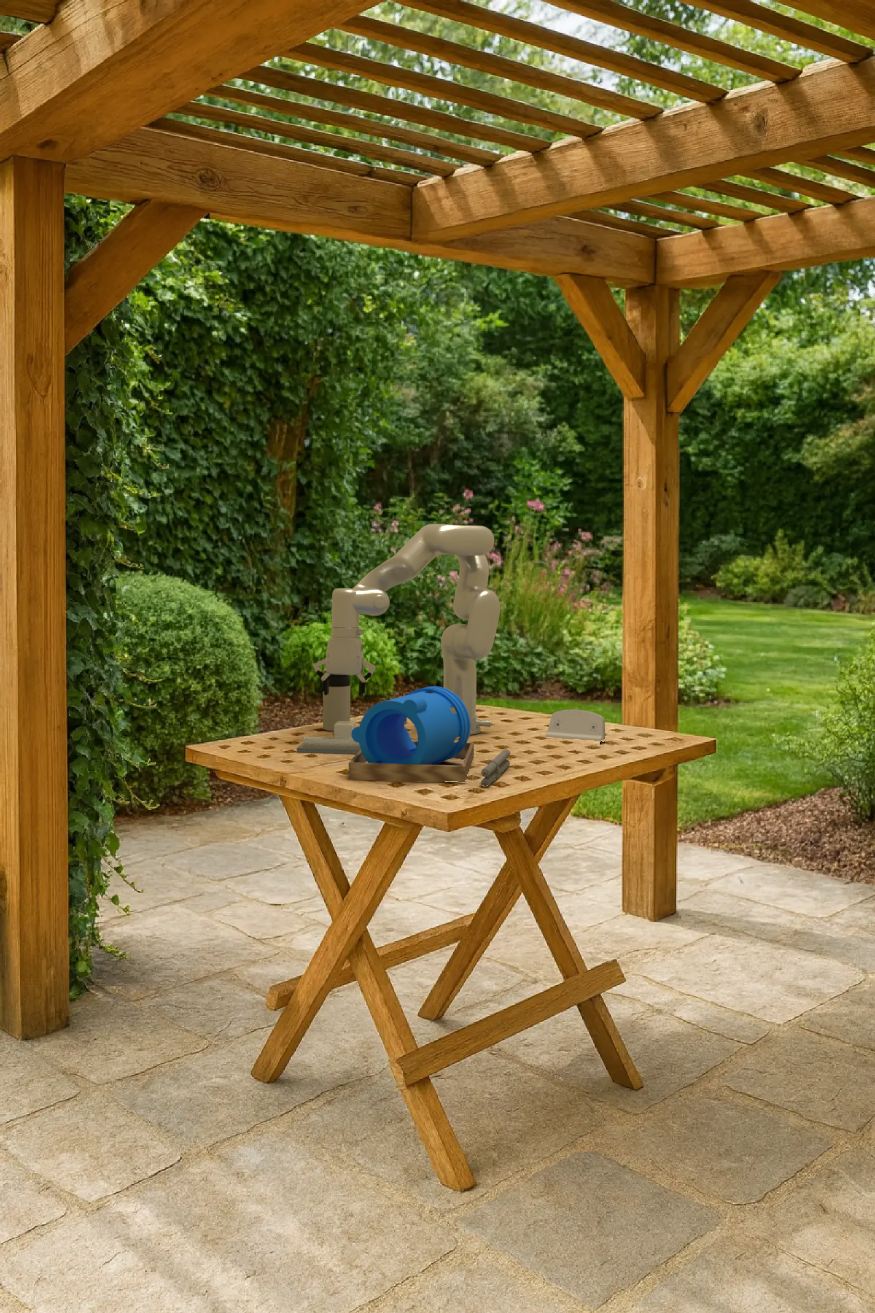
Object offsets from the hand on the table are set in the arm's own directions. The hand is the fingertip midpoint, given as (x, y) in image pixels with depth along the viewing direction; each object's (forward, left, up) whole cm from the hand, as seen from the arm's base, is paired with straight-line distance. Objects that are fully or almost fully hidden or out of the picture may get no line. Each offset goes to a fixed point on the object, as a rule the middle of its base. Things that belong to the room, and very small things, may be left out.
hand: (343, 695), depth 333 cm
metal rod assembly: (-44, +40, -14) cm, 61 cm away
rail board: (-1, +12, -13) cm, 18 cm away
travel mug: (+6, -20, -13) cm, 25 cm away
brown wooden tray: (-23, +33, -13) cm, 42 cm away
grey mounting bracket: (-64, -13, -14) cm, 67 cm away
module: (0, 0, -13) cm, 13 cm away
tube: (-23, +34, -14) cm, 43 cm away
